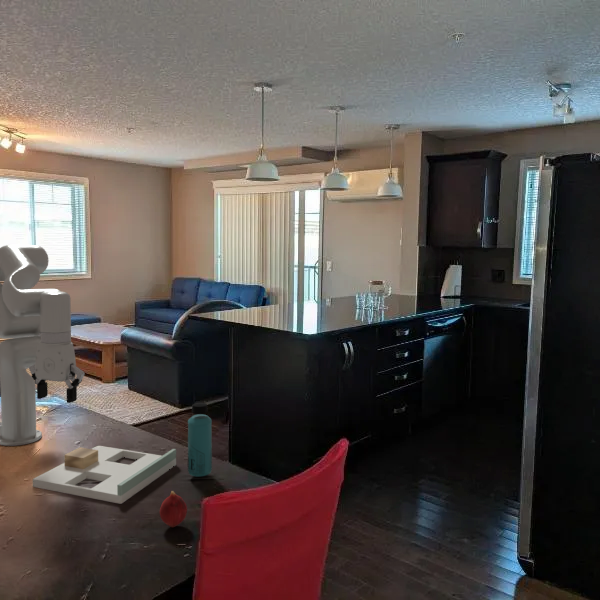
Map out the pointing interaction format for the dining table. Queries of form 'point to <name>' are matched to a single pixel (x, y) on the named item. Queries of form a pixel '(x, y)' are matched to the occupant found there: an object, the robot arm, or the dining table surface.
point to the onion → (173, 510)
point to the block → (81, 458)
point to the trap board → (109, 474)
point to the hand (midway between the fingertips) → (56, 399)
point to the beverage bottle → (199, 441)
